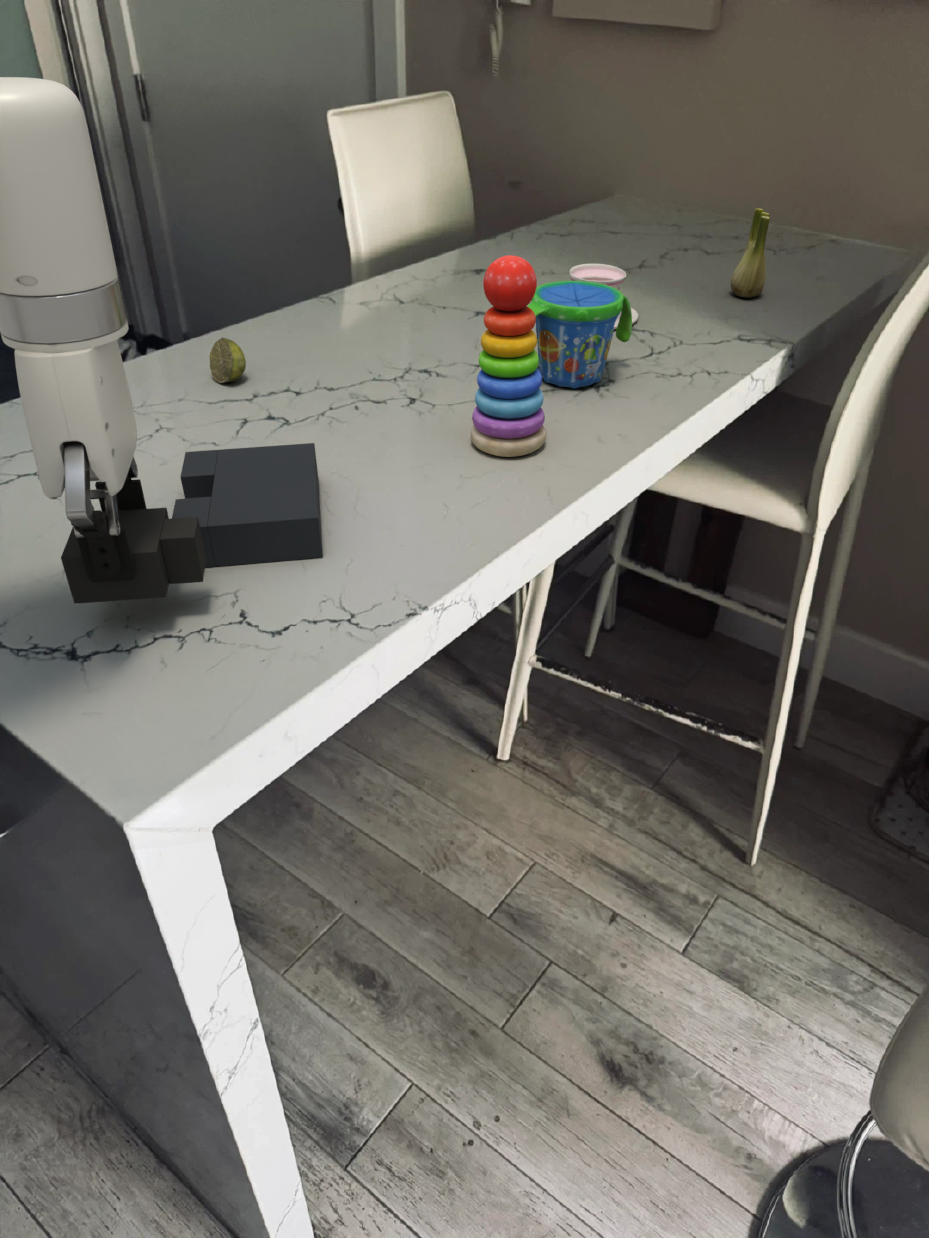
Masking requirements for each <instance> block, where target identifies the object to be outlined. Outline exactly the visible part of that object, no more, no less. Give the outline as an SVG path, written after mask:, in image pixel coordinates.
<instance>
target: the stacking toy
mask: <svg viewBox="0 0 929 1238" xmlns="http://www.w3.org/2000/svg"><path fill="white" fill-rule="evenodd" d="M537 279H538V278H537V275H536V271H535V270H534V267H533V266H532V264H531V263H529V261H527V260H526V259H524V258H523V257H521V256H517V255H513V254H512V255H511V254H510V255H503V256H501V257H500V256H499V257H498V258H497V259H495V260H494V261H492V262H491V263H490V265H488V267H487V268H486V270H485V273H484V276H483V279H482V280H483V282H482V286H483V293H484V295H485V297H486V299H487V301H488V302H489V304H490V305H491V307H490V308H488V309H487V310H486V311H485V313H484V316H483V324H484V326H485V328H486V330H485V331H484V332H483V333H482V334H481V337H480V345H481V348H482V351H481V352H480V353H479V356H478V364H479V365H478V366H479V367H480V370H479V372H478V374H477V377H476V382H477V386H478V389H477V390H476V392H475V395H474V402H475V405H476V406H475V408H474V409H473V411H472V414H471V416H472V417H471V418H472V424H473V425H472V427H471V430H470V439H471V442H472V443H473V445H474V446H475V447H476V448H477V449H478V450H480V451H482V452H483V453H485V454H489V455H492V456H496V457H504V458H514V457H522V456H526V455H530V454H532V453H534V452H536V451H538V450H539V449H541V448H542V447H543V445H544V444H545V442H546V439H547V430H546V427H545V426H544V424H545V421H546V420H545V419H546V418H545V416H546V415H545V412H544V409H543V408H542V406H543V404H544V393H543V391H542V389H541V386H542V382H543V377H542V376H541V373H540V369H538V366H539V357H538V351H536V347H537V334H536V332H535V331H534V330H533V328H534V327H535V326H536V316H535V313H534V312H533V310H532V309H530V308H529V307H527V306H528V305H529V304H530V303H531V302H532V299H533V297H534V295H535V292H536V287H538V285H537V284H538V281H537Z"/></svg>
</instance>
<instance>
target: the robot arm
mask: <svg viewBox="0 0 929 1238" xmlns="http://www.w3.org/2000/svg"><path fill="white" fill-rule="evenodd" d="M87 123H88V122H87V119H86V116H85V112H84V109H83V106H82V104H81V102H80V100H79V98H78V97H77V95H76V94H75V93H74V92H73V91H72V89H70V88H69V87H68V86H66V85H64V84H63V83H60V82H57V81H55V80H52V79H44V78H37V77H22V76H18V77H17V76H0V336H1V339H2V342H3V343H4V344H5V345H6V346H8V347H9V348H12V349H13V350H14V363H15V364H14V365H15V370H16V377H17V384H18V390H19V395H20V401H21V406H22V410H23V411H22V412H23V416H24V420H25V425H26V429H27V433H28V436H29V437H28V438H29V441H30V446H31V449H32V453H33V458H34V462H35V466H36V470H37V474H38V478H39V482H40V485H41V489H42V492H43V494H44V495H45V497H46V498H48V499H49V500H58V498H61V497H62V495H63V493H64V504H65V507H64V508H65V516H66V518H67V520H68V521H69V522H70V525H71V526H72V528H73V527H74V533H75V536H76V538H77V540H78V544H79V547H80V551H81V554H82V558H83V561H84V565H85V569H86V572H87V576H88V579H89V580H90V581H91V582H94V583H97V582H112V581H127V580H133V579H134V578H135V576H136V569H135V564H134V560H133V556H132V552H131V548H130V544H129V539H128V535H127V531H126V528H120V521H119V513H118V510H133V509H148V508H147V504H146V503H147V502H146V499H145V495H144V490H143V486H142V482H141V479H140V478H139V479H138V476H139V470H138V465H137V462H136V459H135V457H134V456H135V452H136V448H137V442H138V430H137V423H136V415H135V410H134V404H133V400H132V396H131V391H130V386H129V382H128V378H127V374H126V370H125V366H124V361H123V359H122V354H121V351H120V343H119V342H118V340H119V339H120V338H123V337H124V336H125V335H126V334H127V333H128V331H129V330H130V329H129V324H128V323H129V322H128V319H127V312H126V307H125V303H124V302H125V301H124V298H123V292H122V288H121V284H120V279H119V278H120V277H119V275H118V269H117V265H116V264H117V263H116V260H115V259H116V258H115V254H114V250H113V245H112V244H113V243H112V240H111V234H110V230H109V225H108V220H107V215H106V210H105V205H104V200H103V196H102V192H101V191H102V190H101V186H100V180H99V176H98V171H97V166H96V161H95V157H94V153H93V148H92V143H91V142H92V141H91V137H90V132H89V128H88V124H87ZM91 482H95V483H94V487H95V488H93V489H91ZM92 500H98V502H99V506H100V509H101V510H100V509H99V510H97V509H96V510H95V507H94V505H93V503H92ZM101 511H106V515H107V516H106V515H105V514H104V513H103V512H101Z"/></svg>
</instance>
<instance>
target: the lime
mask: <svg viewBox="0 0 929 1238" xmlns="http://www.w3.org/2000/svg"><path fill="white" fill-rule="evenodd" d="M246 365H247V361H246V357H245V354H244V351H243V350H242V348H241V347H240V345H239V344H237V342H235V341H234V340H232V339H229V338H226V337H221V338H218V339H217V340H216V341H215V342H214V344H213V345H212V348H211V350H210V353H209V370H210V374H211V375H212V378H213V379H214V381H216V382H217V383H219V384H228V383H233V382H234V381H236V380H238V379H239V378H241V377H242V375H243V374H244V373H245V371H246V367H247V366H246Z"/></svg>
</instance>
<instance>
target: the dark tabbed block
mask: <svg viewBox="0 0 929 1238" xmlns="http://www.w3.org/2000/svg"><path fill="white" fill-rule="evenodd" d="M100 511H101V512H103V513H104V514H105V515H106V511H102V510H100ZM118 513H119V521H120V528H126V531H127V535H128V539H129V544H130V548H131V552H132V556H133V560H134V564H135V569H136V576H135V578H134V579H133V580H127V581H112V582H97V583H94V582H91V581H90V580H89V579H88V576H87V572H86V569H85V565H84V561H83V558H82V554H81V551H80V547H79V544H78V540H77V538H76V536H75V533H74V527H73V526H72V528H71V531H70V533H69V535H68V537H67V541H66V543H65V546H64V549H63V551H62V554H61V556H60V560H61V563H62V564H61V565H62V567H63V570H64V574H65V578H66V580H67V584H68V588H69V590H70V593H71V597H72V601H73V604H75V605H76V604H89V603H90V604H91V603H93V604H94V603H105V602H107V603H108V602H121V601H133V600H136V601H137V600H148V599H149V600H150V599H163V598H167V597H168V591H169V585H175V584H176V585H177V584H178V585H179V584H192V583H203V582H204V578H205V571H206V568H205V564H206V558H205V552H204V547H203V541H202V536H201V530H200V525H199V519H198V517H189V518H172V517H170V516H169V512H168V508H167V507H154V508H153V507H152V508H151V507H150V508H147V509H133V510H118ZM106 516H107V515H106ZM169 517H170V518H169Z"/></svg>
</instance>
